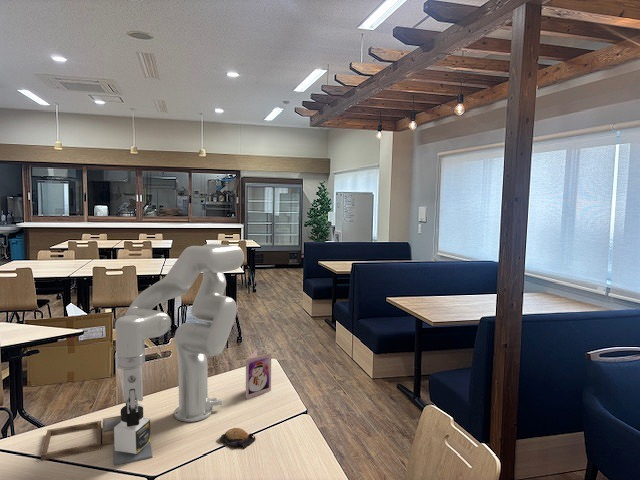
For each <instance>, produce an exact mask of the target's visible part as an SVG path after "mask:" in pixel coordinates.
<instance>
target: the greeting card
mask: <svg viewBox="0 0 640 480" xmlns="http://www.w3.org/2000/svg"><path fill="white" fill-rule="evenodd" d="M270 391H272V352H270V353H266V354H261V355H258V349H256V350H255V351H254V352H253V353H251V354H250V355H249V356H248V357H247V358H246V359H245V400H247V399H251V398H253V397H256V396H260V395H262V394H265V393H268V392H270Z"/></svg>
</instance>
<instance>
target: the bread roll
mask: <svg viewBox="0 0 640 480" xmlns="http://www.w3.org/2000/svg"><path fill="white" fill-rule="evenodd" d="M256 439H257V438H256V436H255V435H254V434H253V433H251V432H250V433H248V432H247V431H246V430H244V429H243V428H240V427H233V428H230V429H228V430H226V432H224V434H221V436H220V437H219V438H217V439H216V440H215V443H217V444H220V445H222V446H223V445H224V446H226V447H229V448H234V449H237V450H241V451H242V450H245V449H247V448H248V447H249V446H250V445H252V444H253V443H254V442H255V441H256Z"/></svg>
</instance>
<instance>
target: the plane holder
mask: <svg viewBox="0 0 640 480" xmlns="http://www.w3.org/2000/svg"><path fill="white" fill-rule="evenodd" d="M119 423H121V415H117V416H110V417H104V418H102V420H96V421H91V422H83V423H79V424H74V425H67V426H62V427H61V426H60V427H56V428H51V429H50V428H49V429H47V430H46V433H45V438H44V442H43V446H42V449H41V454H40V461H45V460H51V459H55V458H62V457H65V456H66V457H67V456H70V455H71V456H72V455H76V454H81V453H86V452H91V451H96V450H101V449H102V447H101V445H102V446H105V445H109V444H110V445H111V444H115V443H114V427H115V426H117V425H118V424H119ZM93 428H97V430H96V431H97V432H96V442H95V443H94V442H93V443H90V444H83V445H78V446H74V447H70V448H65V449H64V448H63V449H59V450H54V451H49V452H48V450H49V444H50V440H51V436H55V435H61V434H65V433H66V434H67V433H73V432H77V431H84V430H89V429H93Z"/></svg>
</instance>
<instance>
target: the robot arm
mask: <svg viewBox="0 0 640 480" xmlns="http://www.w3.org/2000/svg"><path fill="white" fill-rule="evenodd" d="M244 260H245V253H244V251H243V249H242V248H241V247H240V246H237V245H234V244H233V245H231V244H222V243H221V244H220V243H207V244H203V245H191V246H188V247H186V248H185V249H184V250H183V251H182V253H181V254H180V255H179V257H178V258H177V260H176V261H175V262H174V264H173V265H172V267H171V268H170V270H169V271H168V273H167V274H166V275H165V276H164V277H163V278H162V279H161V280H158V281H157V282H155V283H154V284H152V285H151V286H149V287H147V288H145V289H144V290H143V291H142V292H140V293H139V294H138V295H137V297H135V299H134V300H133V301H132V302H131V304H130V306H128V308H127V310H126V312H125V315H124V316H121V317H119V318H117V319H116V321H115V323H114V324H115V326H114V329H115V354H116V355H115V358H116V359H115V361H116V364H115V365H116V368H117V369H119V370H121V373H120V374H121V389H122V395H123V401H124V404H125V406H126V405H127V413H126V414H127V427H130V426H135V425H139V411H138V404H139V402H143V400H144V393H143V392H144V391H143V389H144V388H143V370H142V367H143V366H144V365H145V364H146V351H145V350H146V349H145V348H146V347H145V345H146V344H145V340H146V339H153V338H159V337H162V336H164V335H166V334H167V332H169V330H170V329H171V325H172V319H171V317H170V316H169V314H167V313H166V312H164V311H161V310H154V308H156V306H158V305H159V304H161V303H163V302H166V301H168V300H171V299H176V298H178V297H181V296H184V295H187V293H188V292H189V291H190V289H191V288H192V286H193V284H195V283H194V282H195V281H196V280H197V278H198V277H199V275H200V274H201V273H202V280H201V284H200V286H199V288H198V291H197V293H196V296H195V298H194V301H193V303H192V306H191V310H190V312H191V313H190V315H192V316H191V317H193V318H194V319H196V320H198V321H203V322H207V323H211V324H205V323H200V322H199V323H198V322H193V321H188V322H184V323H181V324H180V325H179V326H178V327H177V329H176V330H175V334H174V344H175V349H176V353H177V361H178V364H177V365H178V370H177V371H178V407H176V408H175V409H174V411H173V412H174V413H173V416H174V418H176V420H178V421H181V422H185V423H188V422H189V423H190V422H191V423H193V422H197V421H198V422H199V421H201V420H205V419H207V418H208V417H210V416H211V415H212V413H213V407H214V406H215V407H217V406H222V405H223V402H222V399H221V398H220V399H217V397H212V398H210V397H209V396H208V395H209V393H208V390H209V389H208V387H209V386H208V385H209V384H208V383H209V382H208V369H209V368H208V359H207V356H212V357H213V356H217V355H219V354H220V353H222V351H223V350H224V349H225V346H226V344H227V341H228V340H229V337H230V333H231V331H232V328H233V326H234V323H235V321H236V317H237V311H238V308H237V303H236V301H235V300H234V299H233V298H232V297H231V296H230V297H229V296H226V295H224V293H225V291H226V287H227V280H226V279H227V278H226V277H225V274H224V273H227V272H232V271H235V270H236V271H237V270H238V269H239V268H240V267H241V266H242V265H244V264H243V263H244ZM206 355H207V356H206ZM135 403H136V405H135ZM129 404H130V407H129ZM129 410H130V411H129Z"/></svg>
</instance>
